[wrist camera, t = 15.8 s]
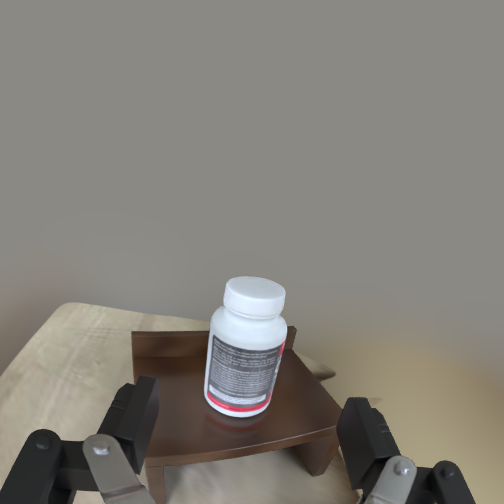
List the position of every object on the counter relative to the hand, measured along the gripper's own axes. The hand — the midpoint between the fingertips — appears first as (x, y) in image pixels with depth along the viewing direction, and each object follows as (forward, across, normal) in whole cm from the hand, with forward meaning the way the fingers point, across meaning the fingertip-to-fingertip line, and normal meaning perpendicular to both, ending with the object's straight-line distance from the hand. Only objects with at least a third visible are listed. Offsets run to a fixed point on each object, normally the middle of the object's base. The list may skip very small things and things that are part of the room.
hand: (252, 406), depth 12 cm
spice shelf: (+10, 0, +16) cm, 19 cm away
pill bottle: (+10, 0, +8) cm, 13 cm away
